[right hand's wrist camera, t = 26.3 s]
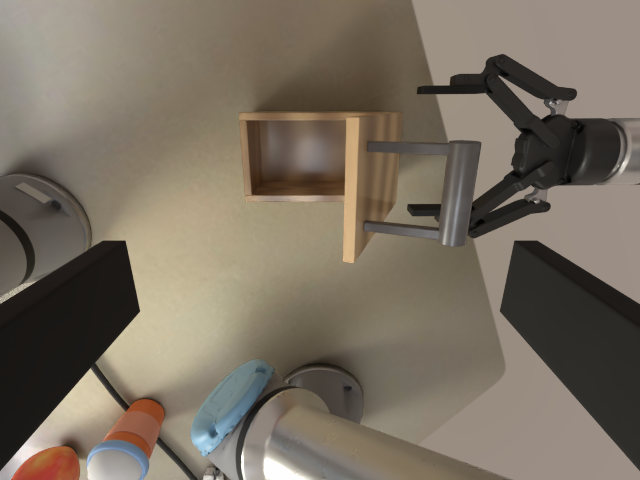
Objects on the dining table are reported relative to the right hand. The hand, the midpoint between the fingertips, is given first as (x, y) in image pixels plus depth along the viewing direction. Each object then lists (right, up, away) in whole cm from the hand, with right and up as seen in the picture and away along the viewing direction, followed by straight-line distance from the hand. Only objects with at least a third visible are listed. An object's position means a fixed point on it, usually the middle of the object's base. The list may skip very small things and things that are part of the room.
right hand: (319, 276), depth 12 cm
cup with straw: (-31, -30, +52) cm, 67 cm away
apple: (-48, -39, +56) cm, 83 cm away
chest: (0, +13, +36) cm, 38 cm away
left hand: (+11, +11, +29) cm, 33 cm away
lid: (+5, +7, +19) cm, 21 cm away
